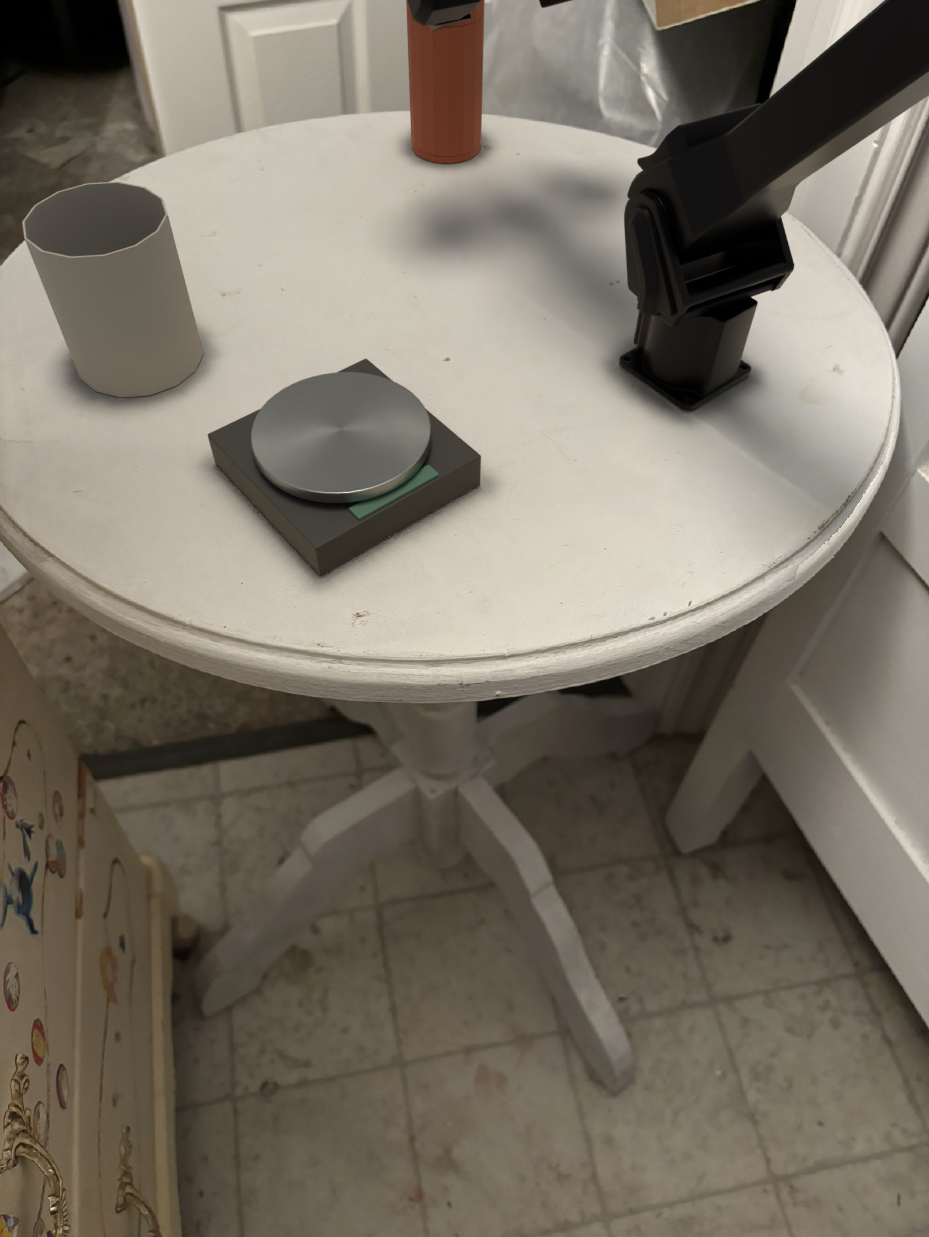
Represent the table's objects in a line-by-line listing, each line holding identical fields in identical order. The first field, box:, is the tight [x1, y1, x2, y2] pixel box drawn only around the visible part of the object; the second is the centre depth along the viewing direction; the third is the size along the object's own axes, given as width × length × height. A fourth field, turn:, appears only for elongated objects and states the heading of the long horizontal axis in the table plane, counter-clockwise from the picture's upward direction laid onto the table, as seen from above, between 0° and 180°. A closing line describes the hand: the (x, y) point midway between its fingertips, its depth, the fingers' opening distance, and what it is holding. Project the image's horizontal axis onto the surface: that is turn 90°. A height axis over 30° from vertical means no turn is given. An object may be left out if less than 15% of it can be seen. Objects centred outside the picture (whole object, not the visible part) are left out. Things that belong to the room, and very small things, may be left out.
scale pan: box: [251, 371, 431, 503], centre depth 54 cm, size 10×10×1 cm
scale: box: [207, 358, 482, 577], centre depth 56 cm, size 12×12×3 cm
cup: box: [21, 181, 205, 398], centre depth 59 cm, size 8×8×10 cm
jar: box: [405, 0, 485, 164], centre depth 76 cm, size 6×6×12 cm
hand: (486, 12), depth 68 cm, fingers open, 9 cm apart
